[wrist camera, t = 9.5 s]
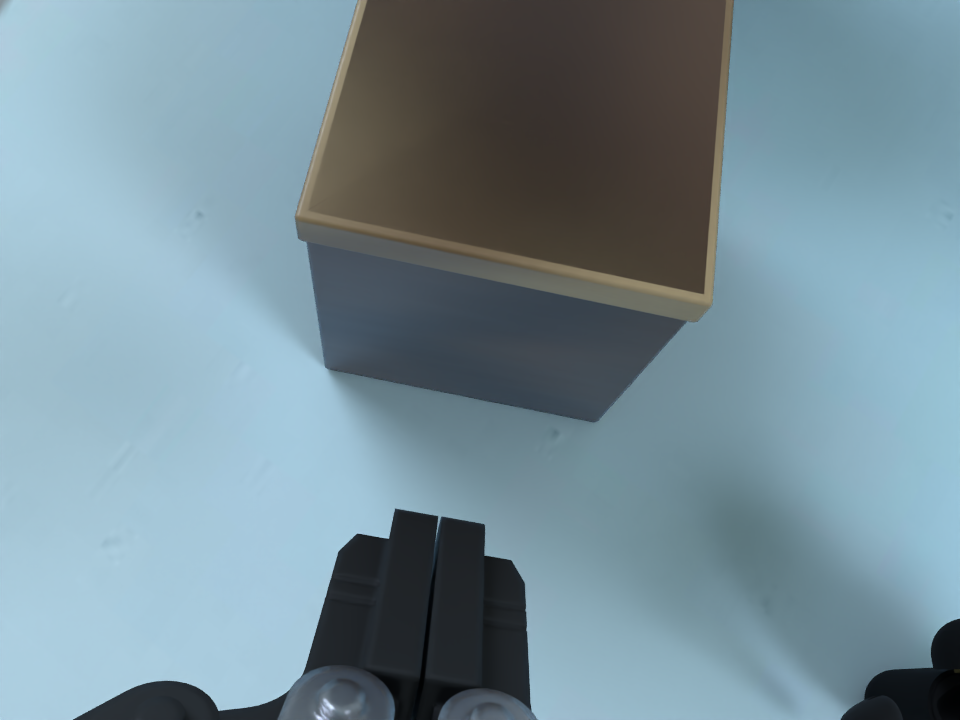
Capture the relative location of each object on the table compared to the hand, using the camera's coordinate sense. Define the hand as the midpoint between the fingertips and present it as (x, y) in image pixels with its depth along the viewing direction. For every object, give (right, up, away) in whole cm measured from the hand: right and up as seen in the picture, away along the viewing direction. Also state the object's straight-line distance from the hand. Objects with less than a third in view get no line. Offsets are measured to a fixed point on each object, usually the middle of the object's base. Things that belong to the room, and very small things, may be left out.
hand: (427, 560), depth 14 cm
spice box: (+1, +6, +9) cm, 11 cm away
